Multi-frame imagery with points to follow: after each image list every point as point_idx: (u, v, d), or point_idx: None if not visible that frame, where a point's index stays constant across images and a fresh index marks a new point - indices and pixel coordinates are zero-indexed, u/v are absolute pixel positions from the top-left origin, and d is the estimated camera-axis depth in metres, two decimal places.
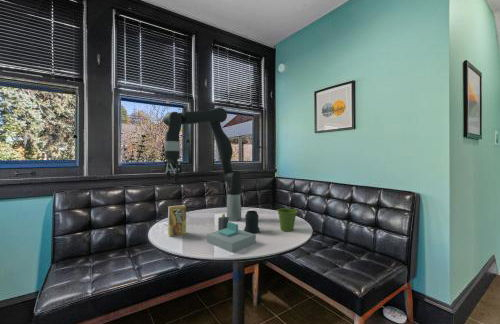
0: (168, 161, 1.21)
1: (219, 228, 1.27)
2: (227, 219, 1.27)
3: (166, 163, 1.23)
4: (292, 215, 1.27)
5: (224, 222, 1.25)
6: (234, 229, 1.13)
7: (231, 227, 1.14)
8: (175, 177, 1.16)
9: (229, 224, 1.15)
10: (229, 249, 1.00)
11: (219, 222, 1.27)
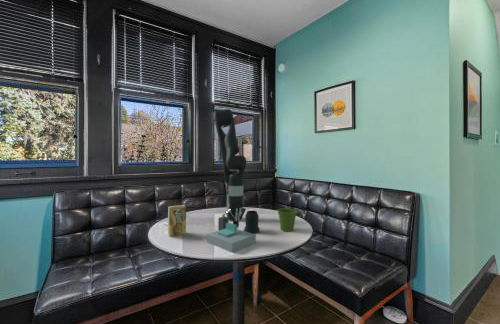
0: (234, 206, 1.14)
1: (219, 228, 1.27)
2: (227, 219, 1.27)
3: None
4: (292, 215, 1.27)
5: (224, 222, 1.25)
6: (233, 229, 1.12)
7: (229, 227, 1.14)
8: (238, 224, 1.16)
9: (228, 224, 1.15)
10: (229, 249, 1.00)
11: (219, 222, 1.27)
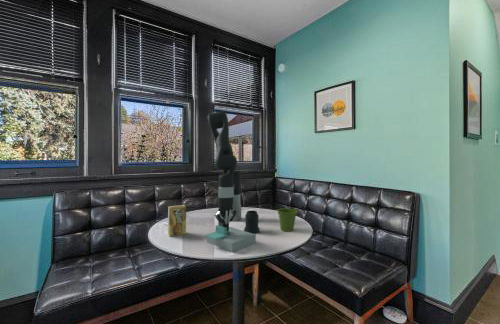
0: (224, 209, 1.09)
1: None
2: None
3: None
4: (292, 215, 1.27)
5: None
6: (222, 233, 1.07)
7: (219, 230, 1.09)
8: (228, 226, 1.11)
9: (217, 227, 1.09)
10: (229, 249, 1.00)
11: None
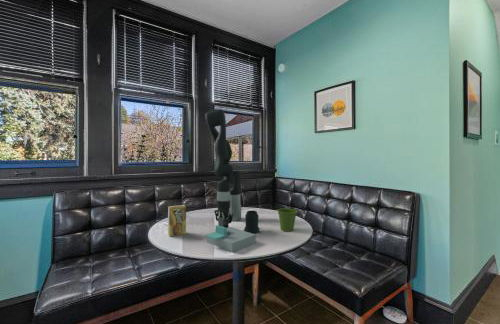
0: None
1: None
2: None
3: None
4: (292, 215, 1.27)
5: None
6: (222, 233, 1.07)
7: (219, 230, 1.09)
8: None
9: (217, 227, 1.09)
10: (229, 249, 1.00)
11: (219, 222, 1.27)
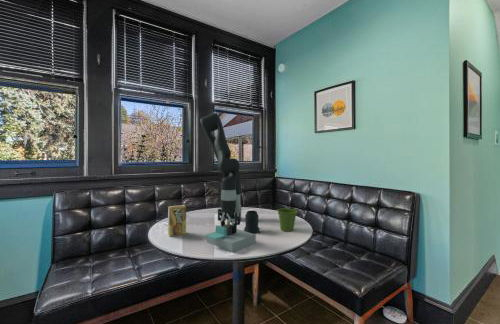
0: None
1: None
2: None
3: None
4: (292, 215, 1.27)
5: (229, 230, 1.10)
6: (222, 233, 1.07)
7: (219, 230, 1.09)
8: None
9: (217, 227, 1.09)
10: (229, 249, 1.00)
11: None
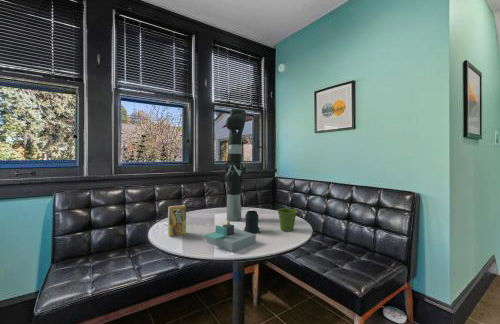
0: None
1: None
2: (232, 227, 1.12)
3: None
4: (292, 215, 1.27)
5: (229, 230, 1.10)
6: (222, 233, 1.07)
7: (219, 230, 1.09)
8: None
9: (217, 227, 1.09)
10: (229, 249, 1.00)
11: None
